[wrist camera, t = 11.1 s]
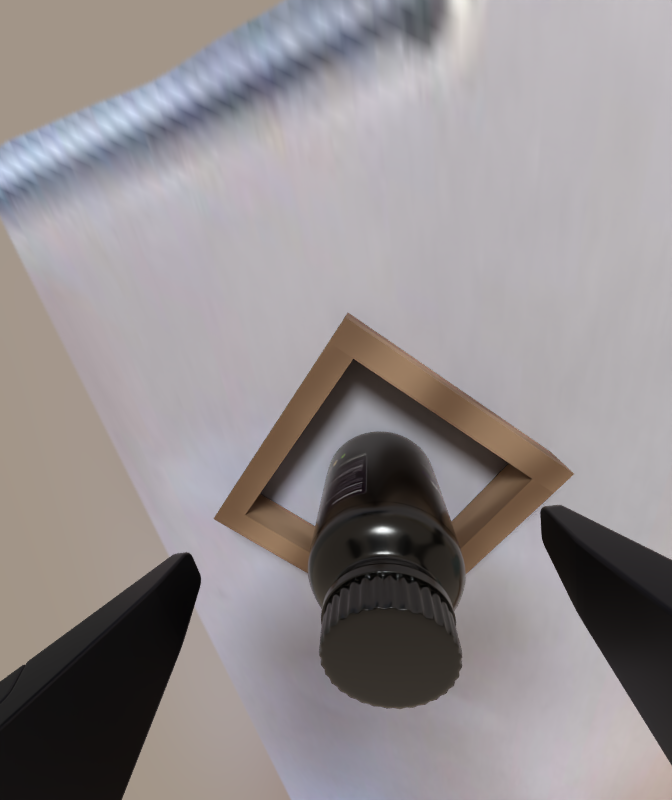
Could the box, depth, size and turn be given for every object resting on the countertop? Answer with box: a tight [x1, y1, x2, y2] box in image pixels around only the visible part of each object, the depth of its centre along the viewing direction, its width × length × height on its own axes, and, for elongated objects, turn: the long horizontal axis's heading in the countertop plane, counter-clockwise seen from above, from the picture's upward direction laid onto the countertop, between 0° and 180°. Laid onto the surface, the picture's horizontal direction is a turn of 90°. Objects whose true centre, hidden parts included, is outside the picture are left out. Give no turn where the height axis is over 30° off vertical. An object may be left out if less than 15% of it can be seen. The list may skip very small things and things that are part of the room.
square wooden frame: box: [214, 313, 574, 574], centre depth 22 cm, size 15×15×2 cm
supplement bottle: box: [308, 432, 465, 709], centre depth 17 cm, size 7×7×12 cm
